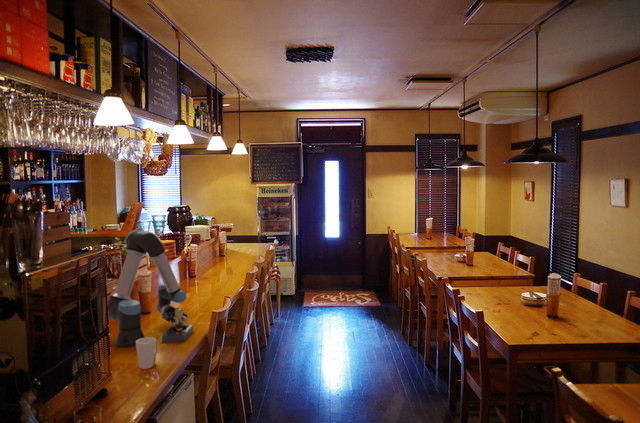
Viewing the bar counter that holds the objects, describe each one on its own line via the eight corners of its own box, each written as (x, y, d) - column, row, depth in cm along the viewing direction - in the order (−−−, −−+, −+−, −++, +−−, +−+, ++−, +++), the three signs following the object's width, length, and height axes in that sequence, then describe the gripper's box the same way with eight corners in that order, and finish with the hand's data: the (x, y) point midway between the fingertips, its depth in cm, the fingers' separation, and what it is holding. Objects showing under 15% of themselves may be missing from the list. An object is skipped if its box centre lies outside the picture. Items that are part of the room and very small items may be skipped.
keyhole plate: (172, 330, 272) (172, 324, 271) (193, 330, 272) (193, 324, 272) (162, 342, 252) (161, 335, 252) (183, 342, 252) (183, 335, 252)
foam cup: (156, 368, 217) (156, 342, 216) (136, 371, 213) (135, 345, 213) (156, 361, 226) (155, 336, 225) (136, 363, 222) (135, 338, 221)
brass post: (171, 333, 263) (171, 309, 262) (181, 331, 267) (181, 306, 266) (177, 336, 258) (176, 311, 257) (186, 333, 263) (186, 309, 262)
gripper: (183, 315, 282) (196, 324, 263) (155, 320, 272) (167, 330, 253) (183, 303, 281) (196, 312, 263) (155, 308, 271) (166, 317, 252)
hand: (182, 321), depth 258 cm, fingers closed on brass post, 4 cm apart
